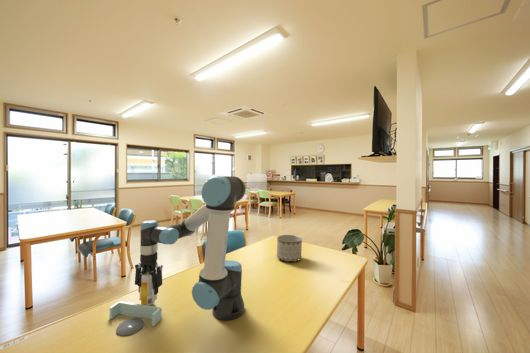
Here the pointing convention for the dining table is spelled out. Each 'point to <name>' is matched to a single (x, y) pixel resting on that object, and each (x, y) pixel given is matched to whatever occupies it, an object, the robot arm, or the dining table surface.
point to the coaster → (130, 326)
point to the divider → (136, 311)
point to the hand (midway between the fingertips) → (148, 299)
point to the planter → (289, 247)
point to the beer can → (146, 289)
